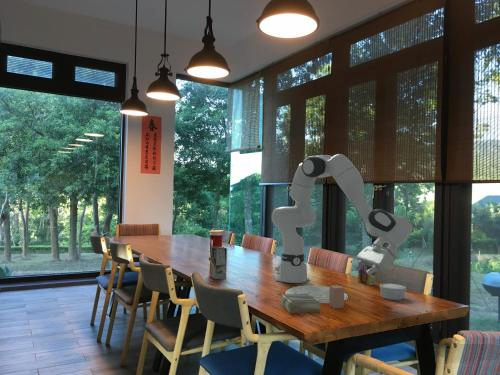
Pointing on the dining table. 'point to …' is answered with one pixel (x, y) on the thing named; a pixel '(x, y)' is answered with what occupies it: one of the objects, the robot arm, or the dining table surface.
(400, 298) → the ramekin
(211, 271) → the coffee box
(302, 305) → the base block
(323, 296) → the ceiling medallion
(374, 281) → the candy box
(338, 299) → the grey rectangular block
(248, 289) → the dining table surface
